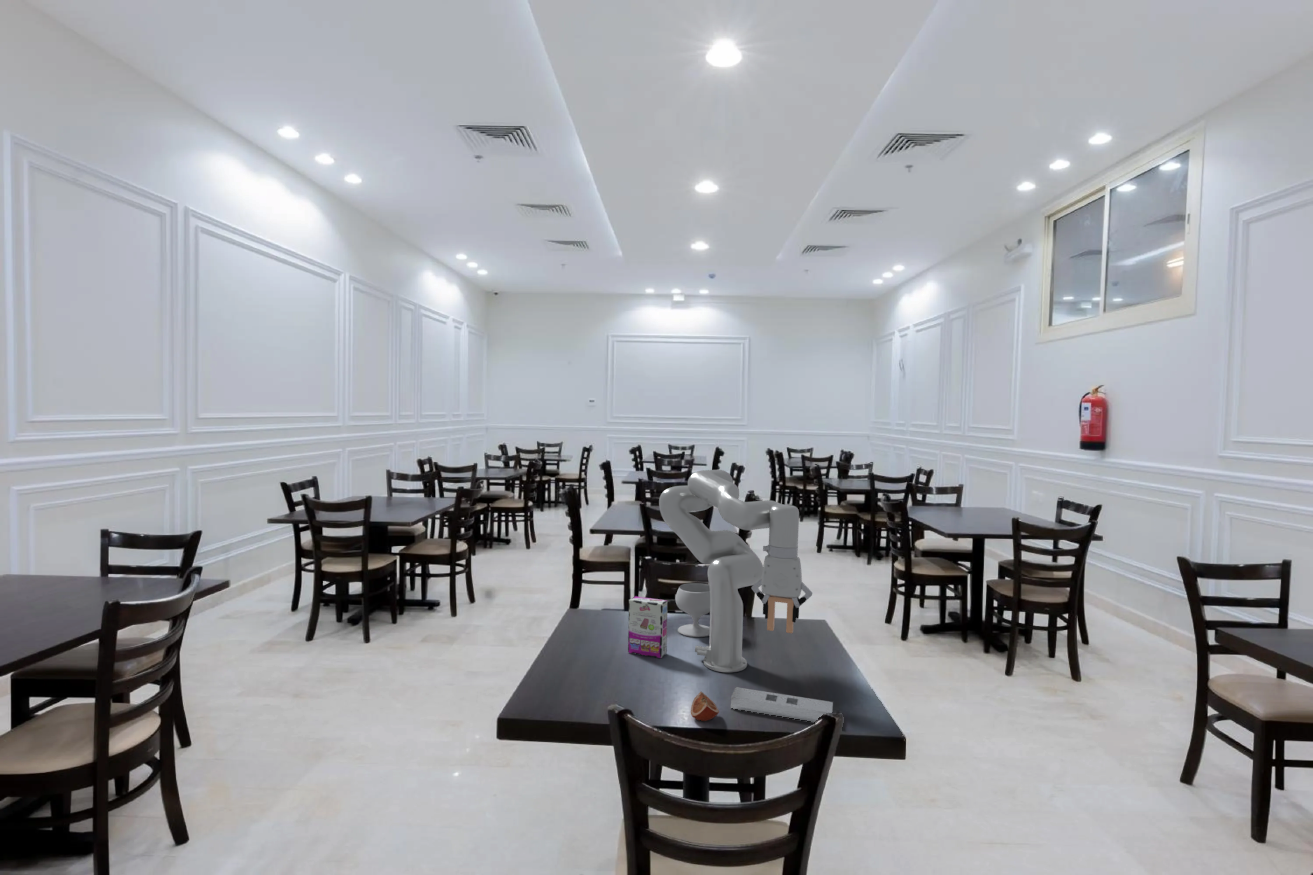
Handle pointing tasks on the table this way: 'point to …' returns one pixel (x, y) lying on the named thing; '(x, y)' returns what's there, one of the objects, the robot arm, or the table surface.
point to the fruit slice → (703, 708)
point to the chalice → (694, 607)
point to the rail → (779, 704)
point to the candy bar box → (647, 626)
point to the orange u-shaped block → (772, 612)
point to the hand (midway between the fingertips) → (780, 618)
